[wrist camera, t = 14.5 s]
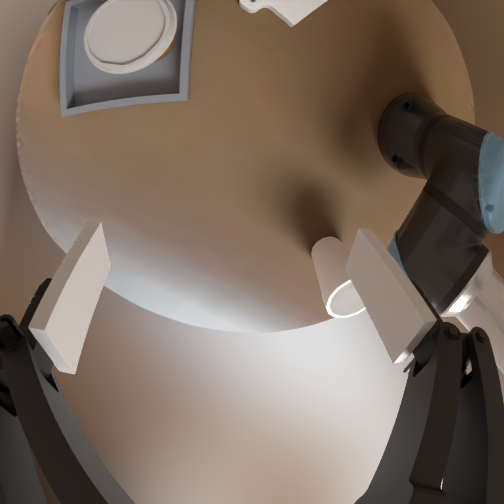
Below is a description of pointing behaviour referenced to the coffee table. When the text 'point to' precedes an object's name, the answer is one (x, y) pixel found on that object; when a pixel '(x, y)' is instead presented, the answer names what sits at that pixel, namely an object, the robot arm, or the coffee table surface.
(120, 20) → the disposable coffee cup
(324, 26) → the coffee table surface
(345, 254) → the foam cup
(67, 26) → the slate tray
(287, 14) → the mounting plate
